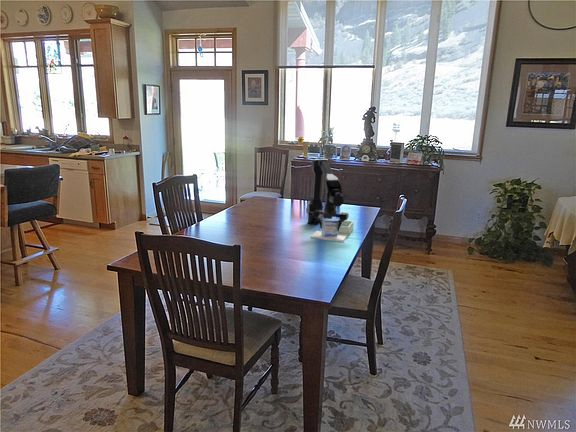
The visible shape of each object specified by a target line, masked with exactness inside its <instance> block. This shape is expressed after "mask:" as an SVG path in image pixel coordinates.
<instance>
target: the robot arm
mask: <svg viewBox="0 0 576 432" xmlns="http://www.w3.org/2000/svg"><path fill="white" fill-rule="evenodd" d="M310 167H311V170H312V173H313V179H312V180H313V181H312V195H311V197H310V199H309V200H308V204H307V207H306V208H305V209H306V214H307V223H306V224H309V225H318V224H319V227H320V229H321V230H322V220H324V219H333V218H339V219H338V220H339V223H338V231H339V229H340V226H341V224H342V222H343V221H345V220H346V221H348V219H349V213H348V212H340V213H337V212H338V211H337V207H340V206H343V203H344V201H345V199H344V197H343V196H342V195H341V193H342V192H343V191H342V190H343V189H342V185H341V181H339V178H338V177H337V176H336V175H334V174H333V170H332V169H331V166H330V164H329V159H327V158H313V159H312V160H311V162H310ZM322 175H323V176H322ZM322 177H324V180H325V181H324V183H323V184H324V188H325V194H326V196H325V207H324V206H323V201H322V200H321V188H322Z"/></svg>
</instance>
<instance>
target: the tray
mask: <svg viewBox="0 0 576 432" xmlns="http://www.w3.org/2000/svg"><path fill="white" fill-rule="evenodd" d="M348 237H349V236H348V235H347V234H339V233H338V235H337V236H328V237H324V236H323V235H322V230H316V231H314V232H313V234H311V235H310V238H311V239H317V240H326V241H331V242H338V243H339V242H342V243H344V242H345V241H346V239H347V238H348Z"/></svg>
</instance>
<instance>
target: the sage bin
mask: <svg viewBox="0 0 576 432" xmlns="http://www.w3.org/2000/svg"><path fill="white" fill-rule="evenodd" d="M335 219H336V220H338V223H339V219H337V218H335ZM354 224H355V222H354V221H353V220H345V221H343V222H342V224H341V226H340V229H339V231H338V233H339V234H347V235H348V237H349V236H350V235H351V234H352V232H353V230H354Z"/></svg>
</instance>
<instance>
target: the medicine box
mask: <svg viewBox="0 0 576 432" xmlns="http://www.w3.org/2000/svg"><path fill="white" fill-rule="evenodd" d="M336 219H337V218H332V219H328V218H326V219H323V220H322V229H321V231H322V235H323V236H324V237H328V236H337V235H338V220H339V219H337V220H336Z"/></svg>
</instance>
